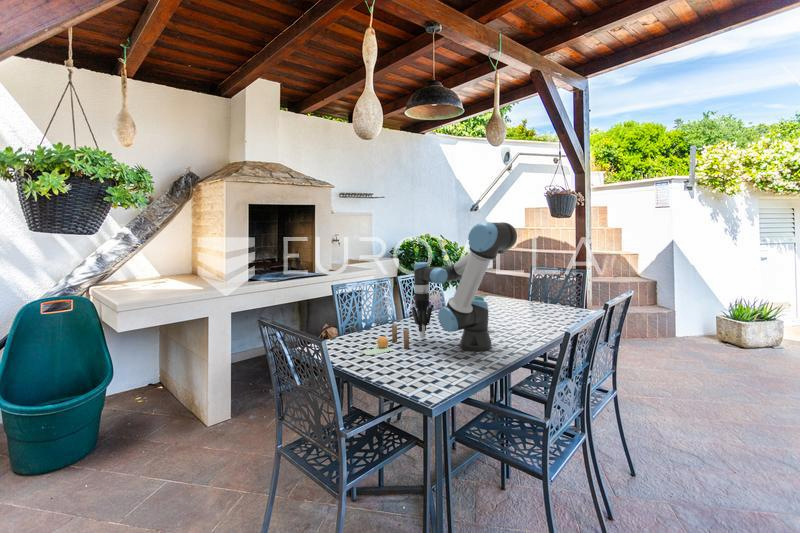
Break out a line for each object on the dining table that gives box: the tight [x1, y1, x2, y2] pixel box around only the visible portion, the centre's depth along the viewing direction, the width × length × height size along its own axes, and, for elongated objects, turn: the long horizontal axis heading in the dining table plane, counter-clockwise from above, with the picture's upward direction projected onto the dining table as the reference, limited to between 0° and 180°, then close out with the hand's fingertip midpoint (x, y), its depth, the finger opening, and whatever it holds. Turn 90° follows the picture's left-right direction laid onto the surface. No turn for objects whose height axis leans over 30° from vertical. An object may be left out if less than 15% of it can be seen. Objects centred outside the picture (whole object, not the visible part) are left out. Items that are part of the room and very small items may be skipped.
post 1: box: [391, 323, 398, 343], centre depth 197 cm, size 3×3×9 cm
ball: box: [376, 336, 389, 348], centre depth 187 cm, size 6×6×6 cm
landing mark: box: [360, 345, 395, 356], centre depth 185 cm, size 14×14×1 cm
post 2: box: [403, 328, 410, 350], centre depth 186 cm, size 3×3×9 cm
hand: (422, 337), depth 198 cm, fingers closed
